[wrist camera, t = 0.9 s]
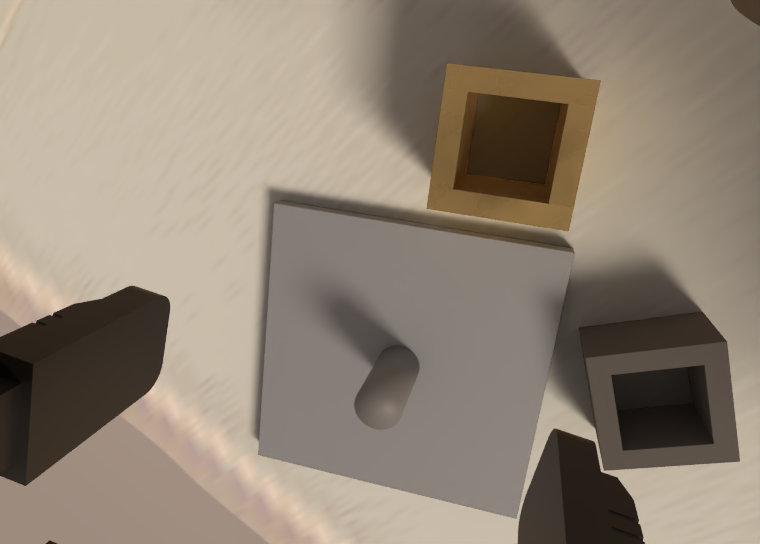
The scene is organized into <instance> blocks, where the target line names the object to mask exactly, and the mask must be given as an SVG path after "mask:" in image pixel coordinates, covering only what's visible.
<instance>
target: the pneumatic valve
mask: <svg viewBox="0 0 760 544" xmlns="http://www.w3.org/2000/svg"><path fill="white" fill-rule="evenodd" d="M731 2H732V4H733V6H734V7H735V8H736V9H737V10H738V11H739V12H740V13H741V14H742V15H744V16H745V17H746V18H748V19H749V20H751V21H752V22H754V23H756V24H757V25H759V26H760V0H731Z"/></svg>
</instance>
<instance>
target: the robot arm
mask: <svg viewBox="0 0 760 544" xmlns="http://www.w3.org/2000/svg"><path fill="white" fill-rule="evenodd" d="M169 314H170V302H169V299H168V298H167V297H166V296H163V295H160V294H157V293H154V292H151V291H148V290H145V289H142V288H139V287H136V286H129V287H126V288H124V289H122V290H120V291H118V292H116V293H114V294H111V295H109V296H107V297H105V298H103V299H98V300H93V301H88V302H82V303H77V304H73V305H71V306H68V307H66V308H64V309H62V310H59V311H57V312H55V313H54V314H53V316H51V315H48V316H46V317H44V318H42V319H39V320H37V322H36V323H30V324H28V325H26V326H24V327H22V328H19V329H17V330H15V331H13V332H10V333H8V334H6V335H4V336H2V337H0V476H2V477H5V478H7V479H10V480H12V481H15V482H17V483H19V484H22V485H24V486H26V485H28V484H29V483H30V482H31V481H33V480H34V479H35V478H37V477H38V476H39V475H41V474H42V473H43V472H45V470H47V469H48V468H50V467H51V466H52V465H54V464H55V463H56V462H58V461H59V460H60V459H62V458H63V457H64V456H65V455H67V454H68V453H69V452H71V451H72V450H73V449H75V448H76V447H77V446H78V445H80V444H81V443H82V442H84V441H85V440H86V439H87V438H89V437H90V436H92V435H93V434H94V433H95V432H97V431H98V430H99V429H101V428H102V427H103V426H105V425H106V424H107V423H108V422H110V421H111V420H112V419H114V418H115V417H116V416H118V415H119V414H120V413H122V412H123V411H124V410H125V409H127V408H128V407H129V406H131V405H132V404H133V403H135V402H136V401H137V400H138V399H140V398H141V397H142V396H144V395H145V394H146V393H147V392H149V390H150V389H151V388H152V387H153V385H154V384H155V382H156V380H157V379H158V376H159V374H160V371H161V368H162V363H163V356H164V349H165V342H166V335H167V328H168V321H169ZM638 521H639V519H638V515H637V511H636V507H635V503H634V500H633V498H632V497H631V495H630V494H629V493H628V491H627V490H626V489H625V487H624V486H623V485H622V483H621V482H620V481H619V479H618V478H617V477H614V476H611V475H608V474H605V473H602V472H601V470H600V465H599V460H598V455H597V449H596V445H595V442H594V441H591V440H588V439H585V438H582V437H579V436H576V435H573V434H570V433H567V432H564V431H561V430H558V429H553V430H552V432H551V434H550V436H549V438H548V440H547V443H546V445H545V448H544V450H543V453H542V455H541V458H540V461H539V463H538V466H537V468H536V471H535V473H534V476H533V479H532V481H531V484H530V486H529V489H528V491H527V494H526V497H525V500H524V503H523V507H522V510H521V515H520V520H519V527H518V544H645V542H643V534H642V530H641V526H640V524H638ZM46 544H57V543H54V542H52V541H49V542H47V543H46Z"/></svg>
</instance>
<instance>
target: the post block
mask: <svg viewBox="0 0 760 544" xmlns="http://www.w3.org/2000/svg"><path fill="white" fill-rule="evenodd" d="M573 258H574V249H573V248H568V247H562V246H556V245H550V244H544V243H537V242H531V241H525V240H519V239H513V238H507V237H501V236H495V235H488V234H482V233H476V232H470V231H464V230H458V229H452V228H445V227H439V226H433V225H427V224H421V223H415V222H409V221H403V220H396V219H390V218H384V217H378V216H372V215H366V214H360V213H354V212H347V211H341V210H335V209H329V208H323V207H317V206H311V205H305V204H298V203H292V202H286V201H279V202H277V203H274V216H273V231H272V247H271V263H270V278H269V294H268V309H267V325H266V341H265V356H264V372H263V387H262V403H261V419H260V434H259V450H258V455H261V456H265V457H269V458H273V459H277V460H281V461H285V462H289V463H293V464H297V465H301V466H305V467H309V468H313V469H317V470H321V471H325V472H329V473H333V474H337V475H341V476H346V477H350V478H354V479H358V480H362V481H366V482H370V483H374V484H378V485H382V486H386V487H390V488H394V489H398V490H402V491H406V492H410V493H414V494H418V495H422V496H426V497H430V498H434V499H439V500H443V501H447V502H451V503H455V504H459V505H463V506H467V507H471V508H475V509H479V510H483V511H487V512H491V513H495V514H499V515H503V516H507V517H511V518H515V519H517V514H518V509H519V505H520V500H521V496H522V491H523V487H524V482H525V477H526V473H527V468H528V464H529V459H530V455H531V450H532V445H533V441H534V436H535V432H536V427H537V423H538V418H539V413H540V409H541V404H542V400H543V395H544V390H545V386H546V381H547V377H548V372H549V368H550V363H551V358H552V354H553V349H554V345H555V340H556V336H557V331H558V326H559V322H560V317H561V313H562V308H563V304H564V299H565V294H566V290H567V285H568V281H569V276H570V271H571V267H572V262H573Z"/></svg>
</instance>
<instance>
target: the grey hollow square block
mask: <svg viewBox="0 0 760 544" xmlns="http://www.w3.org/2000/svg"><path fill="white" fill-rule="evenodd" d="M579 331H580V338H581V344H582V350H583V356H584V362H585V368H586V374H587V380H588V386H589V392H590V398H591V405H592V411H593V417H594V423H595V429H596V434H597V439H598V444H599V448H600V453H601V458H602V463H603V468H604V471H605V470H620V469H635V468H650V467H665V466H680V465H695V464H709V463H724V462H739V461H740V458H739V448H738V439H737V430H736V421H735V412H734V402H733V393H732V384H731V375H730V365H729V356H728V347H727V341H726V340H725V339H724V337H723V336H722V335H721V334H720V333H719V331H718V330H717V329H716V328H715V326H714V325H713V324H712V323H711V322H710V320H709V319H708V318H707V317H706V316H705V314H704V313H703V312H698V313H691V314H683V315H675V316H667V317H660V318H652V319H644V320H637V321H629V322H621V323H614V324H606V325H598V326H591V327H583V328H579ZM681 367H688V374H689V383H690V391H691V399H692V404H683V405H672V406H662V407H651V408H640V409H629V410H618V411H617V410H616V404H615V397H614V391H613V384H612V378H611V375H617V374H626V373H635V372H644V371H654V370H663V369H672V368H681Z"/></svg>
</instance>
